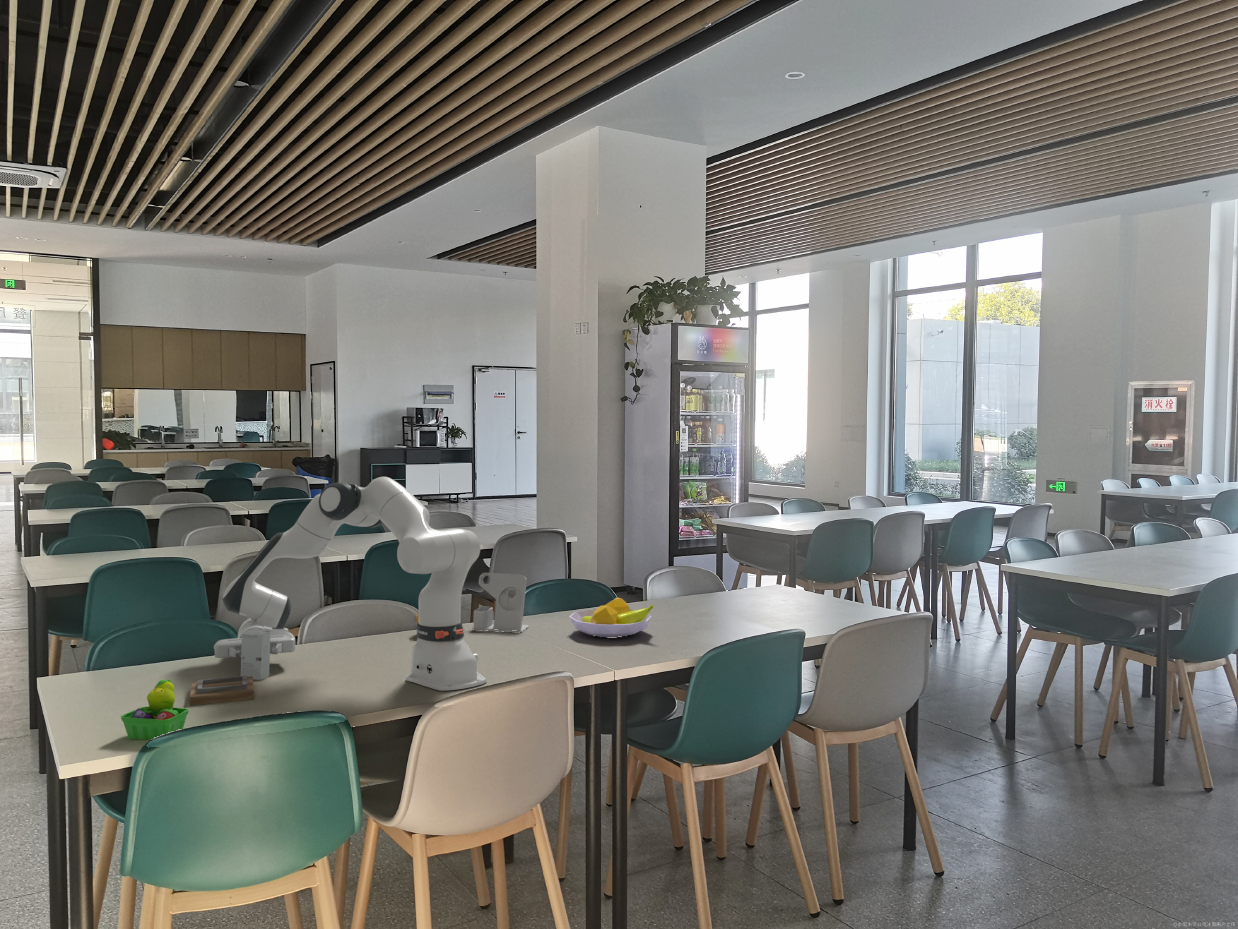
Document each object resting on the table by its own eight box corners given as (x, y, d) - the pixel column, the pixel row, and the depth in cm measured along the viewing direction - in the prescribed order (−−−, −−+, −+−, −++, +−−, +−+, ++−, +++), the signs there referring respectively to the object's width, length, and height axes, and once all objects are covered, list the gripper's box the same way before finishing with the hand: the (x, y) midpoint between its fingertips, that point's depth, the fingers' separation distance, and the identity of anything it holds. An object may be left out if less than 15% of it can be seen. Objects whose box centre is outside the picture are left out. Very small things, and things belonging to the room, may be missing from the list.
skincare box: (239, 679, 234) (239, 633, 234) (249, 674, 239) (249, 629, 238) (261, 680, 233) (261, 634, 233) (270, 675, 238) (270, 630, 237)
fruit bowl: (553, 632, 293) (553, 598, 293) (615, 622, 311) (615, 589, 311) (609, 649, 272) (609, 612, 272) (672, 636, 290) (672, 601, 290)
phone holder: (470, 630, 294) (470, 576, 294) (480, 624, 304) (481, 571, 304) (521, 633, 291) (521, 578, 291) (530, 627, 301) (530, 573, 300)
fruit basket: (118, 740, 187) (117, 687, 187) (146, 727, 196) (146, 676, 196) (167, 744, 185) (167, 690, 185) (194, 730, 194) (194, 678, 194)
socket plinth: (253, 699, 217) (253, 687, 217) (189, 705, 211) (189, 692, 211) (252, 684, 230) (252, 672, 230) (192, 689, 224) (192, 677, 224)
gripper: (213, 633, 245) (212, 644, 232) (293, 627, 253) (296, 637, 240) (214, 656, 245) (212, 668, 232) (293, 649, 253) (296, 661, 240)
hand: (256, 652), depth 236 cm, fingers open, 8 cm apart
